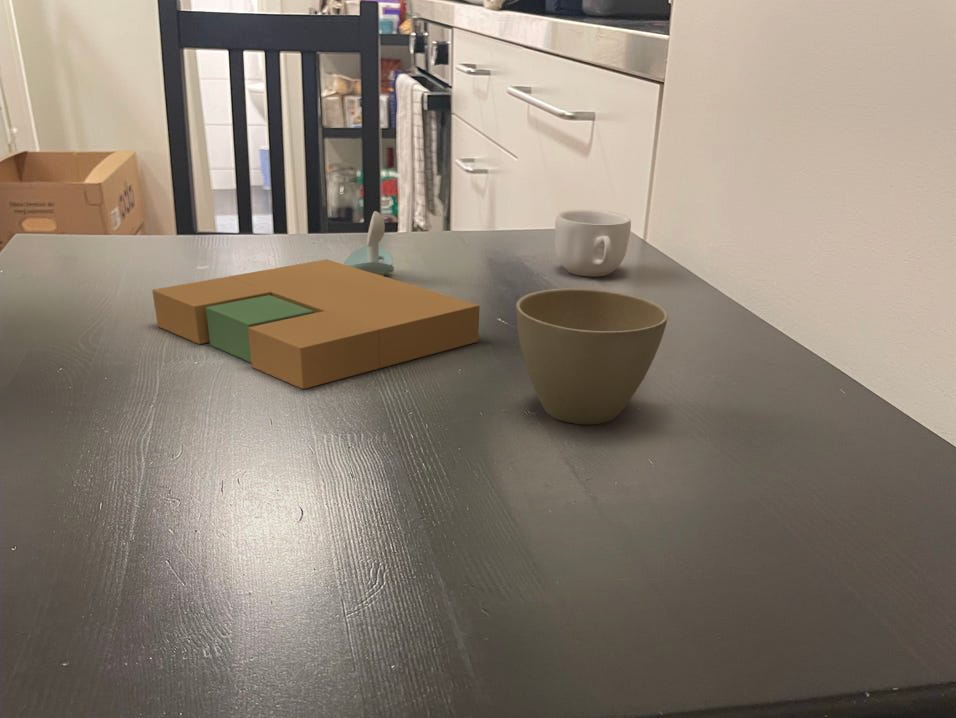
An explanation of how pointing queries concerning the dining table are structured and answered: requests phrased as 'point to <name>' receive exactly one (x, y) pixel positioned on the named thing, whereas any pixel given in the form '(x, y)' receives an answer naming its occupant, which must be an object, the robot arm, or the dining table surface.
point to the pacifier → (372, 250)
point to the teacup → (591, 241)
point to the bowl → (587, 349)
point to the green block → (246, 321)
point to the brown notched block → (326, 320)
